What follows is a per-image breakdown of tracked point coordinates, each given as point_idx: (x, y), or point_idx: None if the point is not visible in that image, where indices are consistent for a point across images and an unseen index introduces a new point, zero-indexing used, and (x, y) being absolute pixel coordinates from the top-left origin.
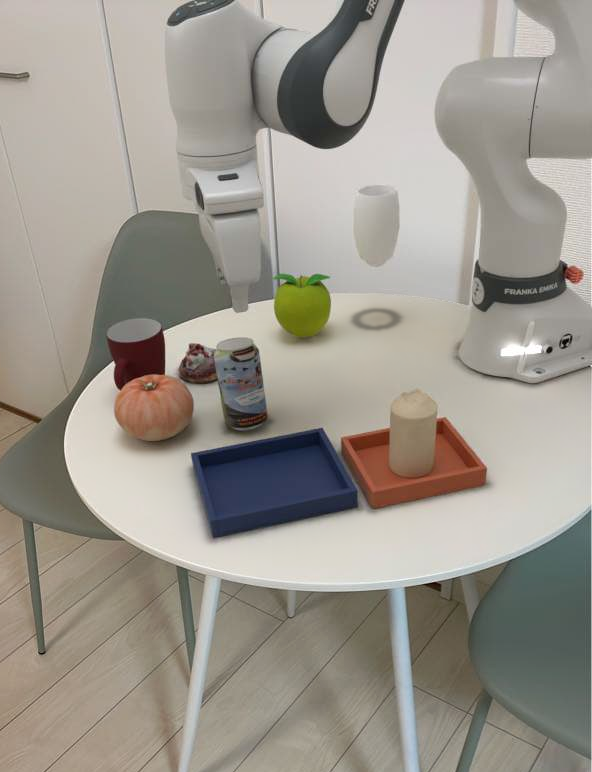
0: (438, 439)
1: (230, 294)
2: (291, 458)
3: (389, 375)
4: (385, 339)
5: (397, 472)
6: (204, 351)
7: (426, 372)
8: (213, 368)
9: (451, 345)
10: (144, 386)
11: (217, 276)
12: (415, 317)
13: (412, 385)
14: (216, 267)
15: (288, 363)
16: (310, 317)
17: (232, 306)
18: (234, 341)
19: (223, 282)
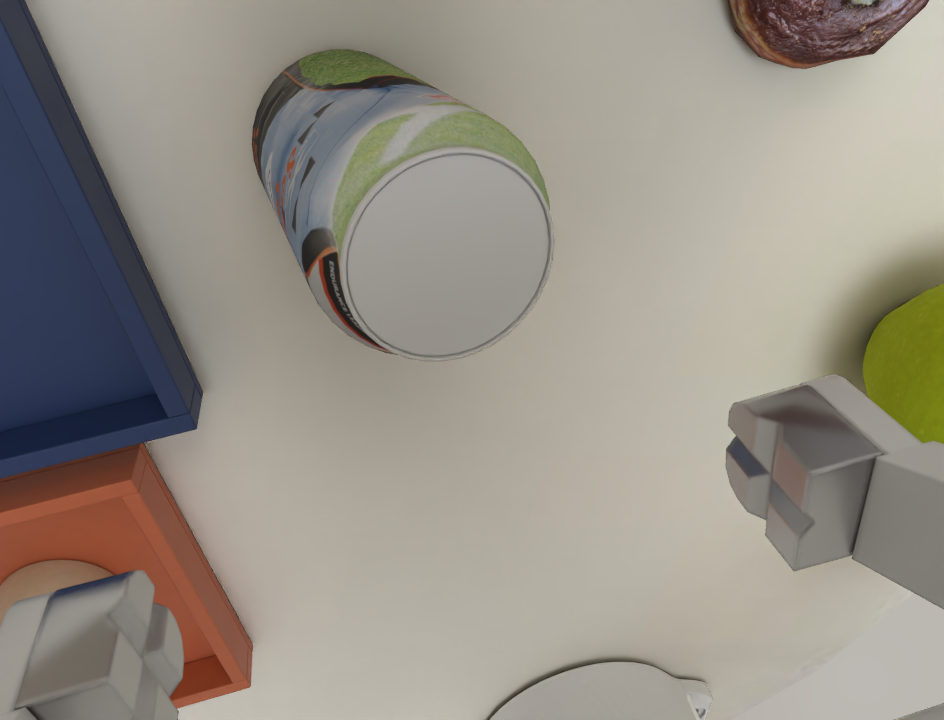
0: (203, 644)
1: (105, 683)
2: (74, 307)
3: (566, 538)
4: (759, 527)
5: (4, 583)
6: None
7: (554, 607)
8: (765, 1)
9: (663, 645)
10: None
11: (850, 393)
12: (834, 581)
13: (499, 583)
14: (906, 456)
15: (743, 282)
16: (886, 410)
17: (59, 608)
18: (495, 253)
19: (741, 428)
